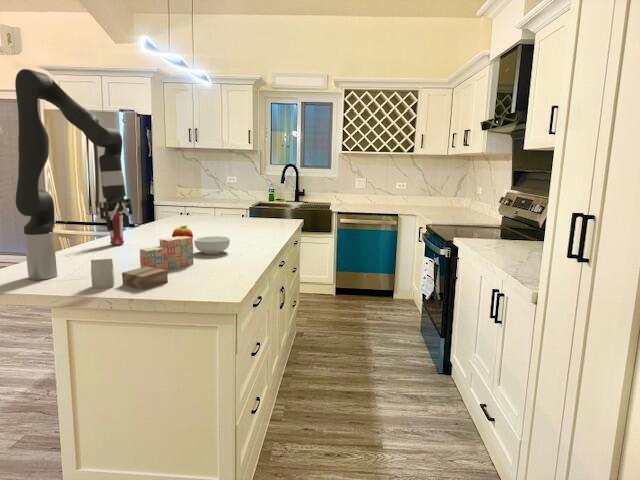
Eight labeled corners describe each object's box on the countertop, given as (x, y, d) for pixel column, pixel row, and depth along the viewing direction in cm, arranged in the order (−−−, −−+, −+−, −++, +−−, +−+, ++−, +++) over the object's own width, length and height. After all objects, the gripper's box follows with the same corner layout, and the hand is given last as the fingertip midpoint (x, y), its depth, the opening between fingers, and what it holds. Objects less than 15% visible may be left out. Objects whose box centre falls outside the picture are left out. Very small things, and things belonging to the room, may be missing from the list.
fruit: (168, 245, 230) (167, 227, 228) (180, 242, 240) (179, 224, 238) (185, 247, 227) (184, 228, 225) (197, 243, 237) (196, 225, 235)
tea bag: (113, 287, 156) (111, 259, 154) (92, 288, 154) (90, 261, 152) (114, 284, 160) (112, 257, 158) (94, 285, 157) (91, 258, 156)
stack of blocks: (148, 273, 175) (146, 243, 173) (140, 270, 179) (138, 241, 177) (193, 264, 192) (192, 236, 189) (185, 262, 195) (184, 235, 193)
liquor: (109, 243, 231) (105, 191, 226) (124, 242, 235) (120, 191, 230) (110, 246, 225) (106, 192, 220) (125, 245, 229) (121, 192, 223)
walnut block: (122, 285, 159) (121, 272, 158) (147, 279, 168) (146, 266, 167) (143, 290, 154) (142, 276, 153) (167, 283, 163) (167, 270, 162)
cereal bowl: (234, 249, 222) (233, 236, 221) (223, 257, 206) (223, 242, 205) (202, 248, 224) (201, 235, 223) (189, 255, 208) (188, 241, 206)
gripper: (117, 183, 163) (122, 226, 166) (89, 185, 150) (96, 232, 153) (134, 182, 162) (140, 225, 164) (108, 184, 148) (114, 231, 151)
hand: (119, 228), depth 158 cm, fingers open, 8 cm apart
